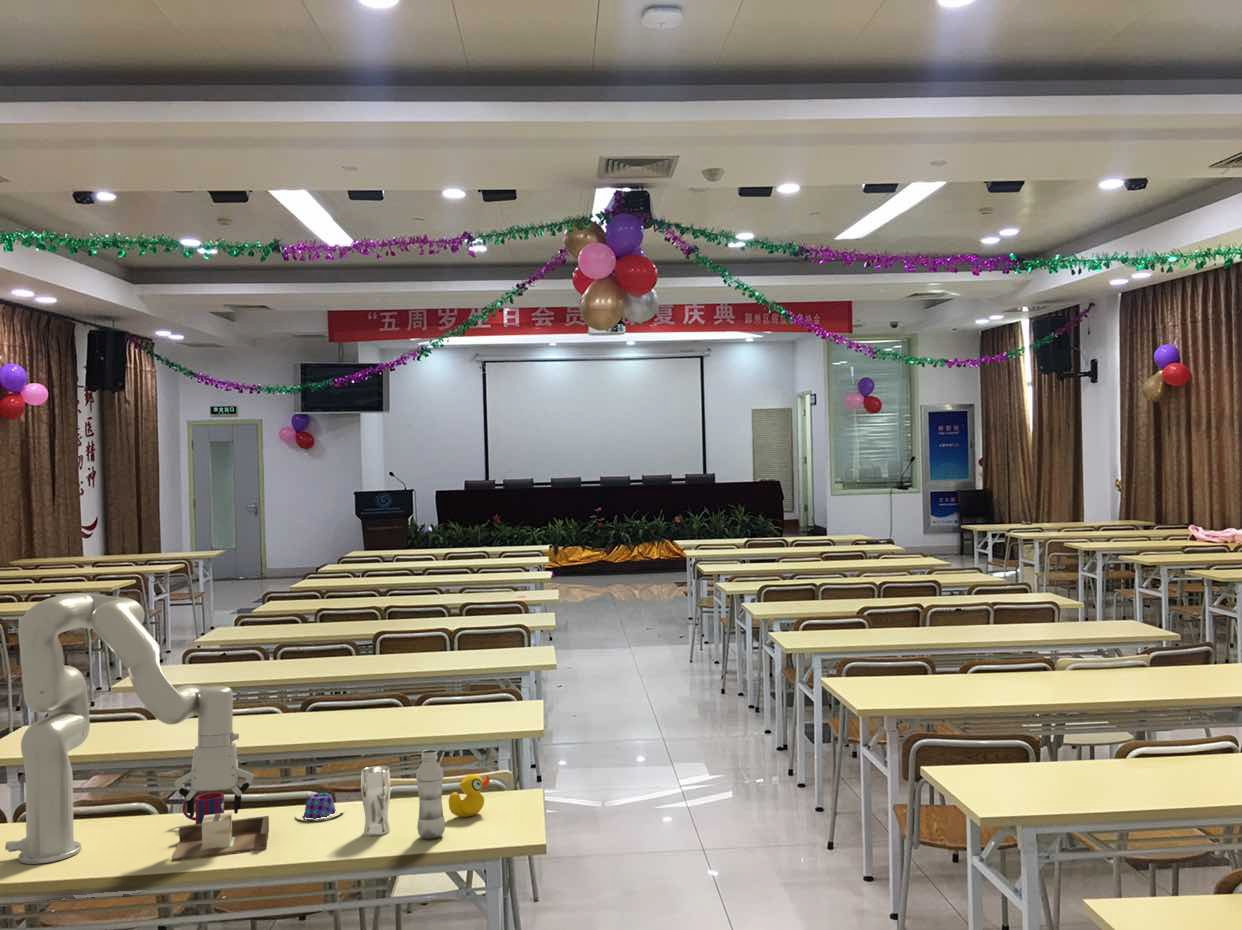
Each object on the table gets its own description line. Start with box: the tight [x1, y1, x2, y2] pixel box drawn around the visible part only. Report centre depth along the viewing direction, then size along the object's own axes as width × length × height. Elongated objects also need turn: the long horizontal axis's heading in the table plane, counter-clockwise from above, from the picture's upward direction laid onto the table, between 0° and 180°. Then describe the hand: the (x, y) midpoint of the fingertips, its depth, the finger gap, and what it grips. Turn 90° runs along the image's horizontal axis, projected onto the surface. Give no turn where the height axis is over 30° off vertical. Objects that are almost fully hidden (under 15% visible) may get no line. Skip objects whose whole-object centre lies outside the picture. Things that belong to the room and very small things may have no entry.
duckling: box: [448, 773, 491, 818], centre depth 250 cm, size 11×5×10 cm, turn 127°
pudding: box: [295, 792, 336, 822], centre depth 254 cm, size 12×12×5 cm
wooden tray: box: [171, 815, 270, 862], centre depth 233 cm, size 20×14×4 cm
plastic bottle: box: [415, 749, 446, 840], centre depth 234 cm, size 6×7×20 cm
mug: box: [182, 792, 225, 825], centre depth 250 cm, size 7×10×7 cm
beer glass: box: [360, 765, 392, 837], centre depth 239 cm, size 7×7×15 cm
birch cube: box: [202, 812, 233, 849], centre depth 232 cm, size 6×6×6 cm
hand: (214, 813), depth 232 cm, fingers open, 9 cm apart
